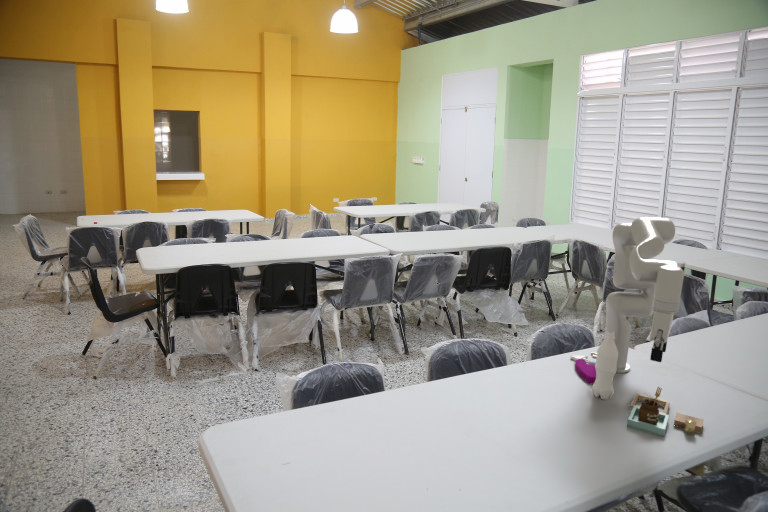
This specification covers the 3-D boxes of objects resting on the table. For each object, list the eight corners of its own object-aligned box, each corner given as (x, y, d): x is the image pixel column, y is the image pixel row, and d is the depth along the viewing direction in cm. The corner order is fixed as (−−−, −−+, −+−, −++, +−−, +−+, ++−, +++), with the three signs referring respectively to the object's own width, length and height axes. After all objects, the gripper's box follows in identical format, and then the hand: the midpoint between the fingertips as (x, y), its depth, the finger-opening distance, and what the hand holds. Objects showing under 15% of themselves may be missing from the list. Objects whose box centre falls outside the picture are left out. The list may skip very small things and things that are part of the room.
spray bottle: (586, 384, 219) (564, 359, 243) (614, 385, 219) (589, 359, 243) (587, 377, 218) (564, 352, 242) (615, 377, 219) (590, 353, 242)
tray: (627, 426, 189) (628, 419, 188) (632, 412, 198) (633, 405, 197) (663, 436, 183) (664, 429, 182) (668, 422, 192) (669, 415, 191)
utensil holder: (633, 419, 192) (638, 386, 189) (648, 416, 194) (653, 383, 191) (647, 428, 187) (652, 394, 184) (662, 424, 189) (667, 391, 186)
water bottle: (609, 392, 212) (617, 328, 206) (615, 401, 205) (624, 335, 199) (589, 391, 213) (597, 327, 207) (594, 400, 206) (602, 334, 200)
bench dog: (683, 433, 185) (685, 421, 184) (684, 429, 188) (686, 418, 187) (693, 436, 184) (695, 424, 183) (694, 432, 186) (696, 420, 185)
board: (673, 426, 190) (674, 419, 189) (675, 419, 195) (676, 412, 194) (700, 434, 186) (702, 427, 185) (702, 426, 191) (703, 419, 190)
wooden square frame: (630, 410, 199) (631, 405, 199) (635, 398, 208) (636, 393, 208) (665, 419, 193) (666, 414, 193) (669, 406, 202) (670, 401, 202)
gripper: (656, 296, 190) (649, 344, 194) (648, 309, 176) (640, 362, 180) (681, 300, 186) (673, 350, 190) (675, 314, 172) (667, 368, 176)
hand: (657, 355), depth 185 cm, fingers open, 9 cm apart
